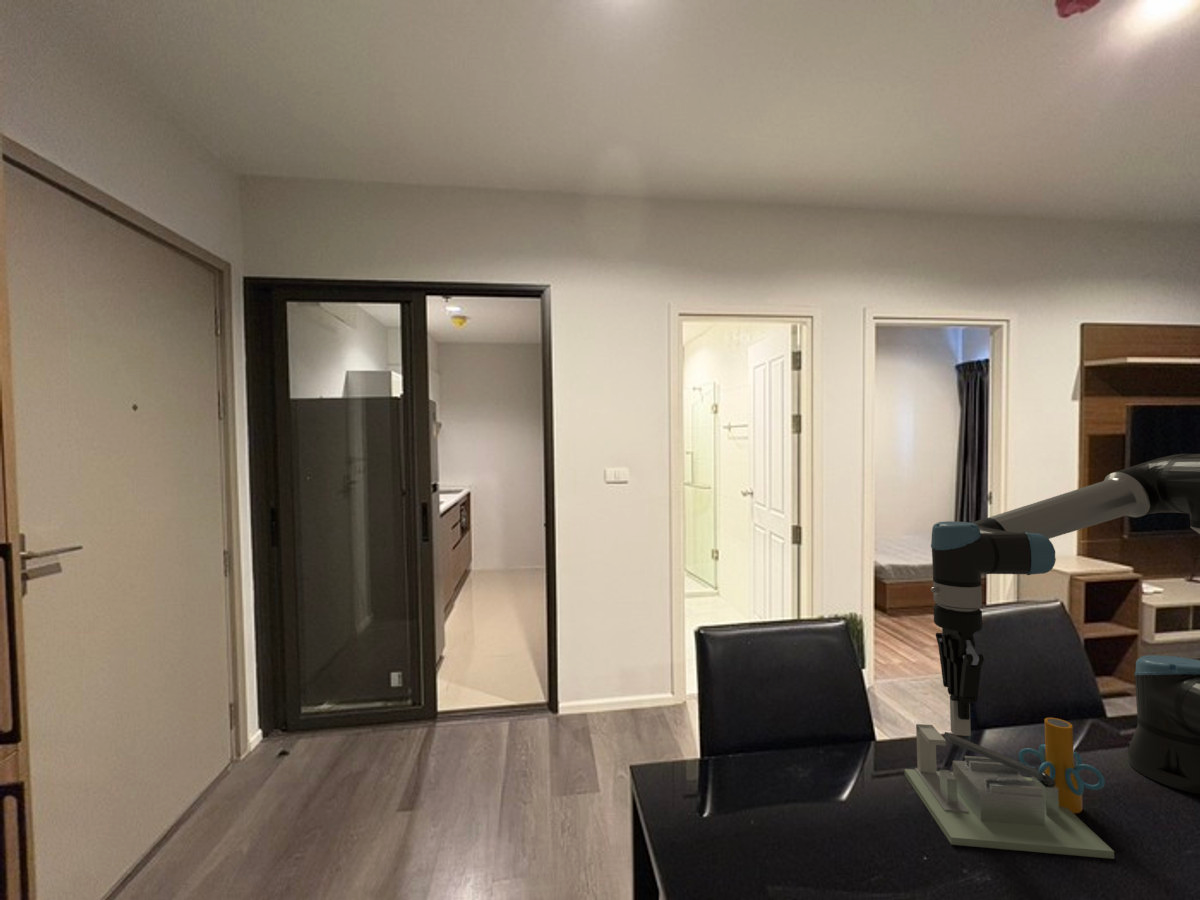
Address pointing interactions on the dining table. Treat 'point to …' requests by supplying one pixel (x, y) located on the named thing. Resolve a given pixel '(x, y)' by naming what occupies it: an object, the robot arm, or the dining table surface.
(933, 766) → the latch
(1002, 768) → the heatsink
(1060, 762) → the orange tube with rings
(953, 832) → the board
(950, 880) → the dining table surface
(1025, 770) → the strap
